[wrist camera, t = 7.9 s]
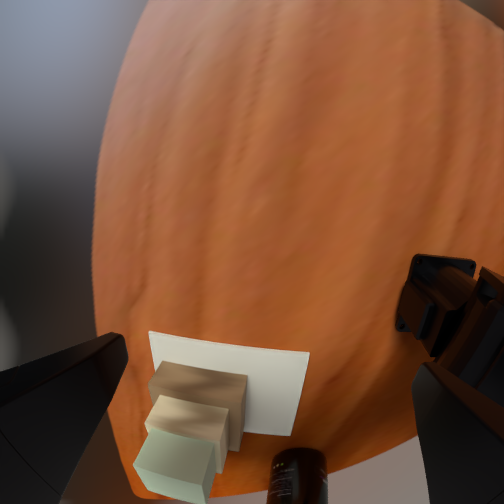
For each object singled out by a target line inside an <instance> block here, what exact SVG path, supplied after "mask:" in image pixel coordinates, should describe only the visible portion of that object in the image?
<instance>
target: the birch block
mask: <svg viewBox="0 0 504 504" xmlns="http://www.w3.org/2000/svg"><path fill="white" fill-rule="evenodd" d="M145 426H146V429H147V431H148V434H149V433H150V431H151V429H152V428H154V429H157V430H161V431H164V432H168V433H172V434H175V435H179V436H183V437H187V438H192V439H196V440H201V441H206V442H211V443H214V449H215V462H216V473H221V474H222V471H223V467H224V463H225V459H226V455H227V451H228V447H229V409H227V408H220V407H215V406H209V405H204V404H199V403H194V402H189V401H184V400H180V399H175V398H171V397H167V396H163V395H159V397H158V399H157V401H156V403H155V405H154V406H153V408H152V410H151V412H150V414H149V416H148V417H147V419H146V421H145Z"/></svg>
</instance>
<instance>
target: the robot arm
mask: <svg viewBox="0 0 504 504" xmlns="http://www.w3.org/2000/svg"><path fill="white" fill-rule="evenodd" d="M418 259H421V261H420V262H419V263H417V261H418ZM471 264H472V266H471V267H470V265H471ZM475 269H476V263H475V261H473V260H471V259H464V258H455V257H446V256H436V255H427V254H416V255H415V256H414V257H413V259H412V263H411V268H410V272H409V277H408V280H407V281H406V282H405V286H404V290H403V294H402V297H401V301H400V305H399V308H398V311H399V314H398V318H397V321H396V325H395V326H396V329H397V330H398V331H399V332H412V333H413V335H414V337H415V338H416V339H417V340H420V341H421V342H422V344H423V345H424V347H425V349H426V350H427V352H428V354H429V355H430V357H436V358H435V360H434V361H433V362H424V363H422V364H421V365H420V367H419V369H418V371H417V374H416V376H415V378H414V380H413V382H412V387H411V390H412V397H413V404H414V411H415V419H416V426H417V432H418V437H419V441H420V446H421V451H422V455H423V461H424V467H425V473H426V479H427V485H428V492H429V500H430V504H504V277H503V276H501V275H499V274H497V273H495V272H493V271H491V270H489V269H487V268H485V267H483V266H482V268H481V270H480V273H479V275H480V276H479V279H478V281H476V280H475V279H473V276H474V273H475ZM401 324H403V326H401V327H400V325H401ZM127 363H128V352H127V347H126V343H125V339H124V337H123V335H121V334H118V333H114V332H110V333H107V334H104V335H102V336H99V337H96V338H94V339H91V340H89V341H86V342H83V343H80V344H78V345H75V346H72V347H69V348H67V349H64V350H61V351H59V352H56V353H53V354H50V355H47V356H45V357H42V358H39V359H36V360H33V361H30V362H28V363H25V364H22V365H20V366H16V367H13V368H10V369H7V370H4V371H1V372H0V504H59V502H60V500H61V498H62V495H63V493H64V491H65V489H66V487H67V485H68V483H69V481H70V479H71V476H72V475H73V473H74V471H75V469H76V467H77V465H78V463H79V461H80V459H81V457H82V455H83V453H84V451H85V449H86V447H87V445H88V443H89V441H90V439H91V437H92V435H93V434H94V432H95V430H96V428H97V426H98V424H99V422H100V421H101V419H102V417H103V415H104V413H105V411H106V410H107V408H108V406H109V404H110V402H111V400H112V398H113V396H114V394H115V391H116V389H117V386H118V384H119V382H120V379H121V377H122V375H123V372H124V370H125V368H126V365H127Z"/></svg>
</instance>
